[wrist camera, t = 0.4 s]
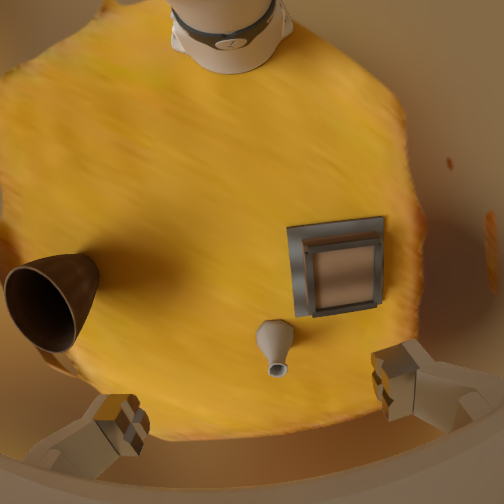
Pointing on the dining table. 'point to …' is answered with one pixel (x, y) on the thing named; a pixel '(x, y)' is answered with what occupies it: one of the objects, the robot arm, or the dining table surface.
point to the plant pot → (52, 299)
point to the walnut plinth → (337, 266)
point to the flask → (275, 344)
